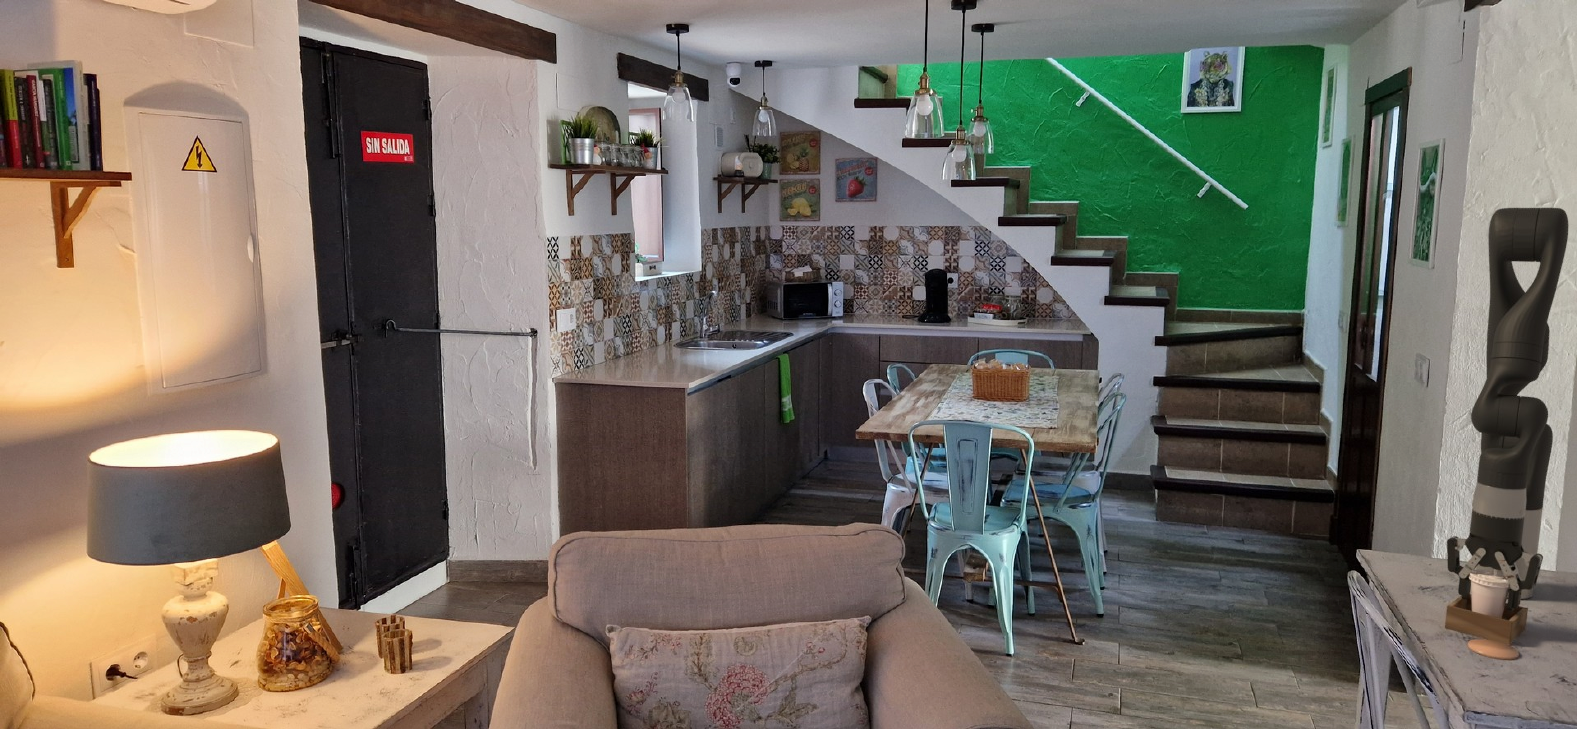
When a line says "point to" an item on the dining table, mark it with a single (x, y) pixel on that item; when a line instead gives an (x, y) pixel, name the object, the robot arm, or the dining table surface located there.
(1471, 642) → the coaster
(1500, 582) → the smoothie
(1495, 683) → the dining table surface
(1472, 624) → the caddy
